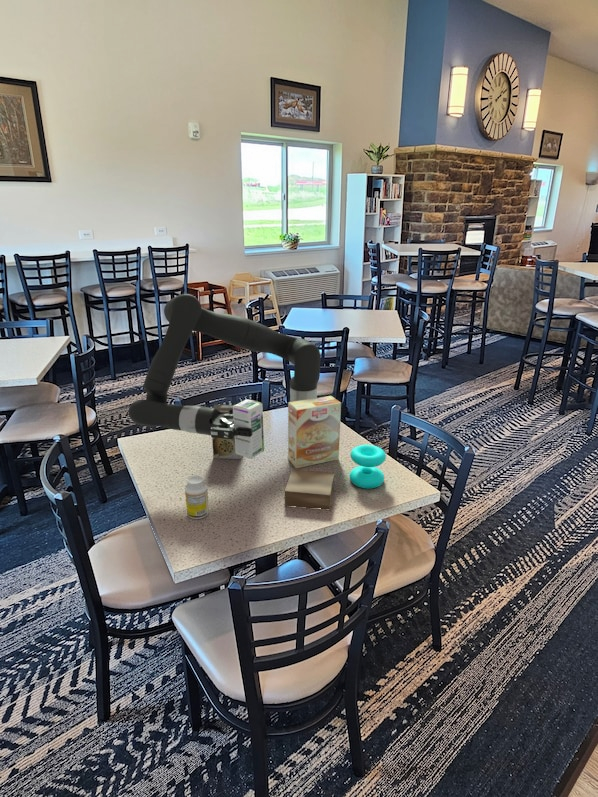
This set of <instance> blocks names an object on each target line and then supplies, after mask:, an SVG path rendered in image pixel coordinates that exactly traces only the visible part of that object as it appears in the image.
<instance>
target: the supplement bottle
mask: <svg viewBox="0 0 598 797" xmlns="http://www.w3.org/2000/svg"><path fill="white" fill-rule="evenodd" d="M186 480H187V483H186V484H187V485H186V486H185V488H184V492H185V493H184V494H185V502H186V503H185V504H186V511H187V512H186V514H187V516H188V517H189V518H190V519H193V520H201V519H203V518H206V517H207V516H208V515H209V513H210V509H209V508H210V506H209V495H208V493H209V492H208V485H207V484H206V483H205V480H204V478H203V477H202V476H200V475H194V476H190V477H188V479H186Z"/></svg>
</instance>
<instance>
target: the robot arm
mask: <svg viewBox="0 0 598 797" xmlns="http://www.w3.org/2000/svg"><path fill="white" fill-rule="evenodd" d="M163 314H164V317H165V320H166V321H167V322H168V326H167V330H166V332H165V336H164V337H163V339H162V342H161V343H160V345H159V347H158V350H156V353H155V354H154V357H153V358H152V361H151V363H150V366H149V368H148V370H147V373H146V376H145V379H144V381H143V382H144V383H143V385H142V386H143V389H144V391H145V392H146V399H137V400H135V401H133V402H132V403H131V404H130V406H129V408H128V416H129V419H130V420H131V421H132V422H133V423H134V424H136V425H140V426H143V427H147V428H155V427H163V428H166V429H169V430H174V431H181V432H187V433H190V434H199V435H206V436H210V437H211V438H212V437H213V438H223V439H233V436H234V437H237V436H238V435H239V436H247V437H251V436H252V429H251V428H245V427H237V426H235V425H234V418H233V409H230V410H229V414H221V413H220V412H219V410H218V409H217V408H213V407H208V406H200V405H183V404H175V403H174V404H169V403H167V401H168V392H169V389H170V386H171V383H172V381H173V378H174V375H175V373H176V370H177V367H178V365H179V362H180V359H181V356H182V354H183V351H184V349H185V347H186V344H187V342H188V340H189V338H190V337H191V334H192V332H198V333H201V334H204V335H208V336H210V337H212V338H215V339H218V340H219V341H221V342H225V343H227V344H230V345H233V346H235V347H238V348H240V349H243V350H246V351H251V352H254V353H265V354H270V355H271V354H272V355H274V356H277V357H280V358H282V359H284V360H285V361H288V362H290V363H291V364H292V365H293V366H294V370H293V371H294V372H293V373H294V374H293V377H291V378H290V379H289V380H290V382H289V395H290V396H289V397H290V398H289V402H294V401H300V400H307V399H313V398H318V383H319V379H320V374H321V362H322V361H321V360H322V359H321V352H320V349H319V348H318V346H317V345H316V344H313V343H312V342H311V341H309V340H307V339H304V338H301V337H296V336H291V335H287V334H284V333H281V332H278V331H276V330H274V329H272V328H270V327H268V326H267V325H264V324H262V323H260V322H257V321H255V320H251V319H249V318H247V317H243V316H239V315H235V314H230V313H222V312H221V313H220V312H216V311H212V310H209V309H207V308H204V307H202V304H201V302H200V300H199V299H198V298H197V297H196V296H194V295H192V294H191V293H190V294H189V293H182V294H179V295H176V296H174V297H172V298H170V300H168V301H167V302H166V303H165V306H164V308H163ZM224 433H225V434H227V435H225V434H224Z"/></svg>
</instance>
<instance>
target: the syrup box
mask: <svg viewBox="0 0 598 797" xmlns="http://www.w3.org/2000/svg"><path fill="white" fill-rule="evenodd" d="M233 405H234V406H233V418H234V425H235V426H237V427H245V428H251V429H252V436H251V437H247V436H239V435H238V436H237V437H235V452H236V454H238V455H240V456H242V457H244V458H247V459H250V460H252V459H254V458H255V457H256V456H258V455H260V454H262V453H264V451H265V441H264V440H265V437H264V436H265V435H264V413H263V411H264V410H263V403H262V402H260V401H257V400H253V399H244V400H242V401H240V402H239V403H237V404H233Z"/></svg>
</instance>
